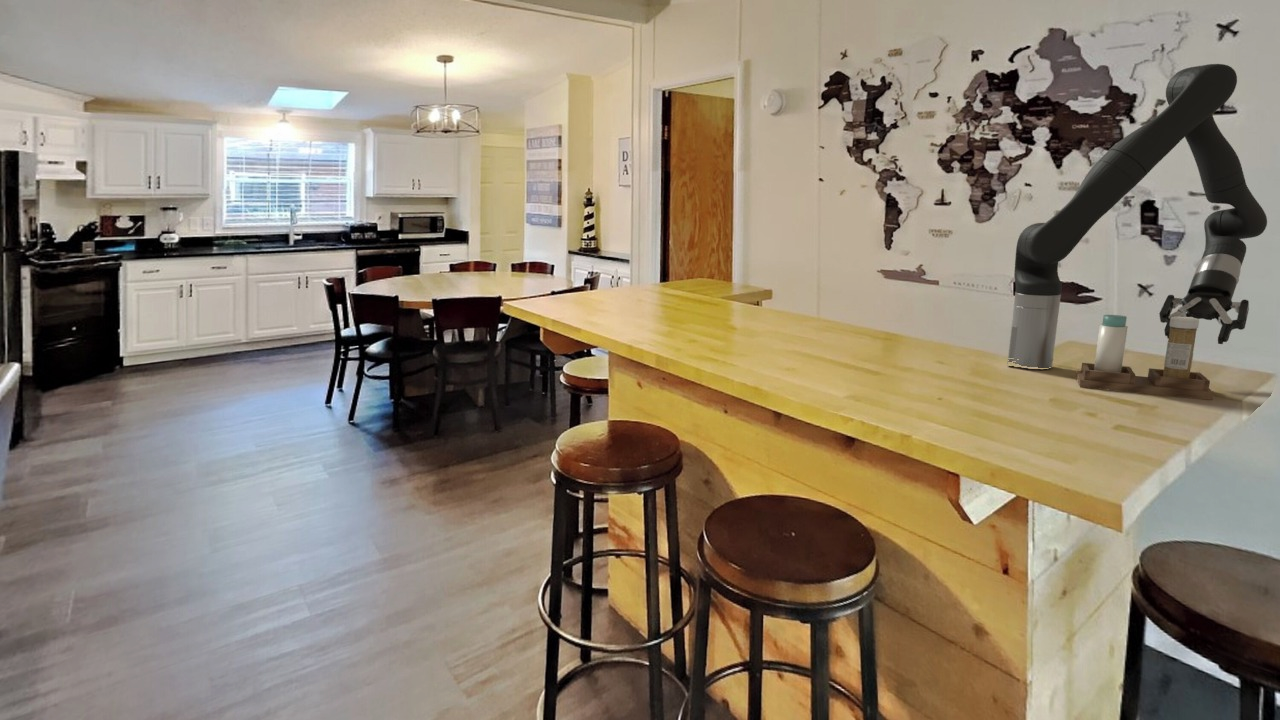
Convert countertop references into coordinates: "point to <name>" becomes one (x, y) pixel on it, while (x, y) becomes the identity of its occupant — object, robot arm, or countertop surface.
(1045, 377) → the countertop surface
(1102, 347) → the bottle
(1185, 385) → the pocket board
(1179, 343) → the sprinkles bottle
